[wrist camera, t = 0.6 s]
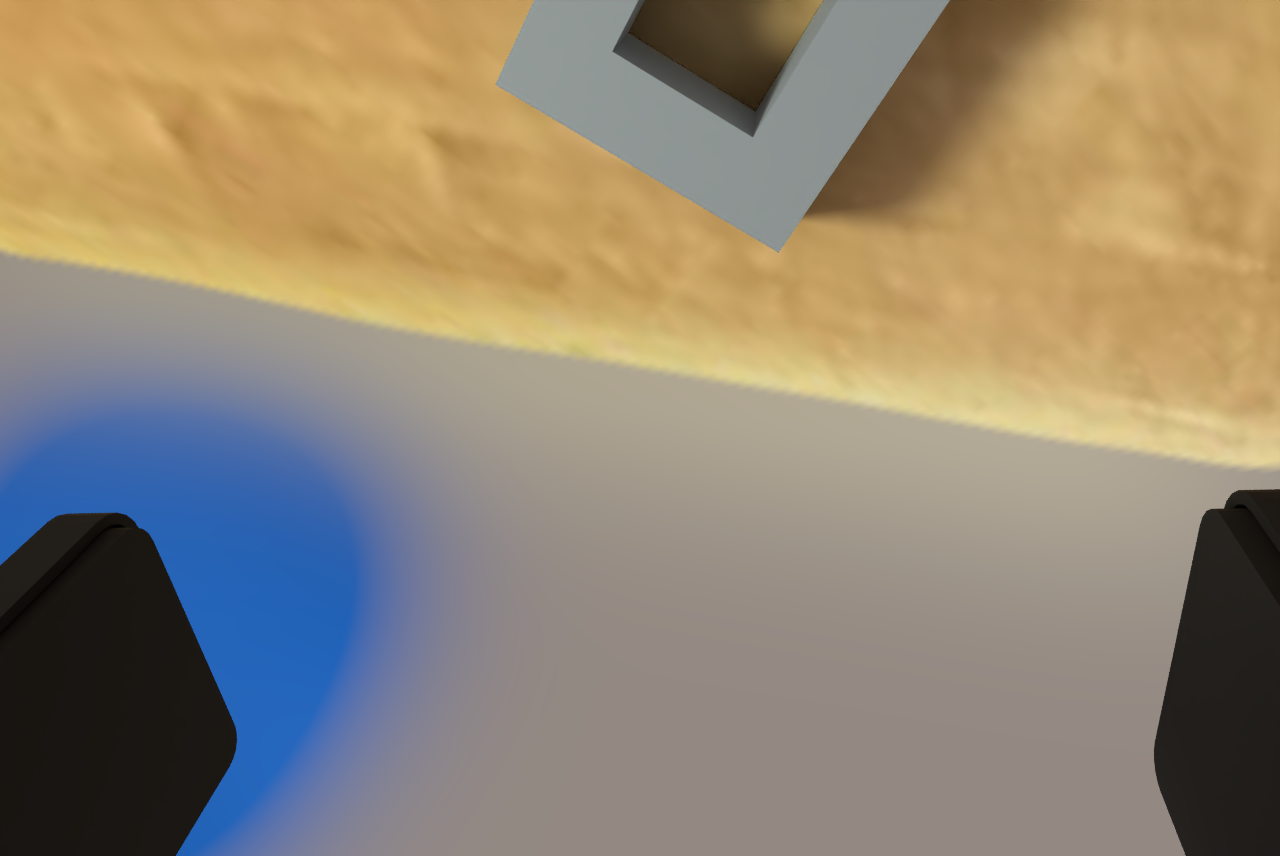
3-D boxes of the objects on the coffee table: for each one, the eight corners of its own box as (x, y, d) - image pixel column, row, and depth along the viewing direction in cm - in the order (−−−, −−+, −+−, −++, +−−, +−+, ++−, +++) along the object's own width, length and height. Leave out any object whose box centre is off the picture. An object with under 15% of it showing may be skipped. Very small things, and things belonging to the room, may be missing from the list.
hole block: (673, -262, 28) (660, -276, 25) (965, -65, 29) (987, -56, 26) (521, 63, 32) (495, 84, 29) (778, 217, 34) (778, 252, 31)
